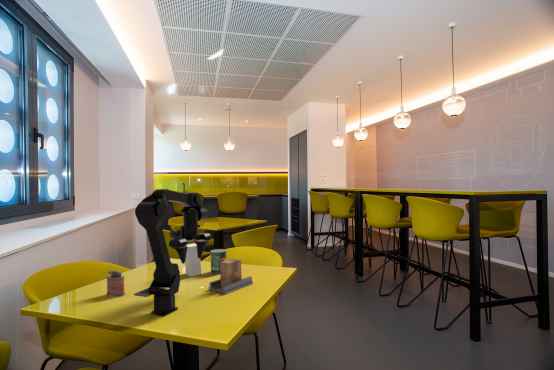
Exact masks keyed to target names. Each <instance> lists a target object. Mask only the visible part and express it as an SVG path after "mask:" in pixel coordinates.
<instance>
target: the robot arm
mask: <svg viewBox="0 0 554 370" xmlns="http://www.w3.org/2000/svg"><path fill="white" fill-rule="evenodd" d="M158 201H159V202H158ZM169 202H171V203H178V205H180V206H181V207H182V209H181V210H180V213H182V216H183V217H182V218H183V219H182V222H183V225H181V226H180V229H179V230H177V229H176V228H175V229H174V228H173V229H171V230H170V231H169V236H170V238H171V239H170V240H169V241H168V245H167V240H166V238H165V233H164V229H163V224H164V220H165V218H166V217H165V212H167V210H168V208H169ZM134 214H135V217H136V219H137V222H138V224H139V225H140V226H141V227H142V228H143V229H144V230H145V231H146V234H147V238H148V243H149V246H150V250H151V253H152V256H153V260H154V264H155V269H154V271H153V275H152V277H153V280H152V281H151V283H150V285H149V287H148V288H149V289H148V292H149V295H150V296H153V310H151V311H150V313H151V314H153V315H157V316H161V317H165V316H167V315H169V314H171V313H173V312H174V311H177V310H178V309H179V307H177V306H176V294H177V293H179V289H180V284H181V271H180V268H179V265H178V263H177V262H176V263H174V262H172V260H171V257H170V253H169V249H168V247H169V248H171V249H172V250H173V249H174V250H175V251H176V253H177V255H178V257H179V259H180V262H181V264H184V265H185V260H186V254H187V248H188V247H185V246H186V245H188V244H190V243H192V242H194V244H196V245H197V255H198V258H200V259H201V258H202V255H203V254H204V251H205V249H206V246H207V245H208V243H210V240H212V238H211V237H212V236H211V234H210V233H209V232H200V233H199V228H201V224H199V222H200V221H204V220H206V219H207V218H208V217H209V212H208V210H207V208H206V207H205V205H204V204H203V201H202V198H201V196H200V195H199V193H198V192H181V191H176V190H171V189H168V188H159V189H158V188H157V189H154V190H153V192H152V193H151V194H149V195H148V196H146V197H144V198H143V199H142V200H141V201H140V202H139V203H138V204H137V206H136V207H135V209H134ZM160 287H163V288H166V289H160Z"/></svg>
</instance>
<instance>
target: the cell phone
mask: <svg viewBox="0 0 554 370" xmlns="http://www.w3.org/2000/svg"><path fill="white" fill-rule="evenodd" d="M148 289H149V287H147V288H144V289H142V290H140V291H138V292H135V293H134V294H133V295H134V296H139V297H144V298H147V297H150V296H151V295H149V292H148ZM160 289H167V288H163V287H160Z"/></svg>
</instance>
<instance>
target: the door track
mask: <svg viewBox="0 0 554 370" xmlns="http://www.w3.org/2000/svg"><path fill="white" fill-rule="evenodd" d="M253 284H254V282H253V276H251V275H250V276H246V277H244V278H242V279H241V280H238V281H235V282H233V283H230V284H227V285H224V286H221V279H220V278H218V279H216V280H213V281H210V282H209V283H208V285H209V286H208V290H209V291H213V292H215V293H219V294H222V295H224V296H225V295H228V294H230V293H233V292H235V291H238V290H240V289H243V288H245V287H249V286H251V285H253Z"/></svg>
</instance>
